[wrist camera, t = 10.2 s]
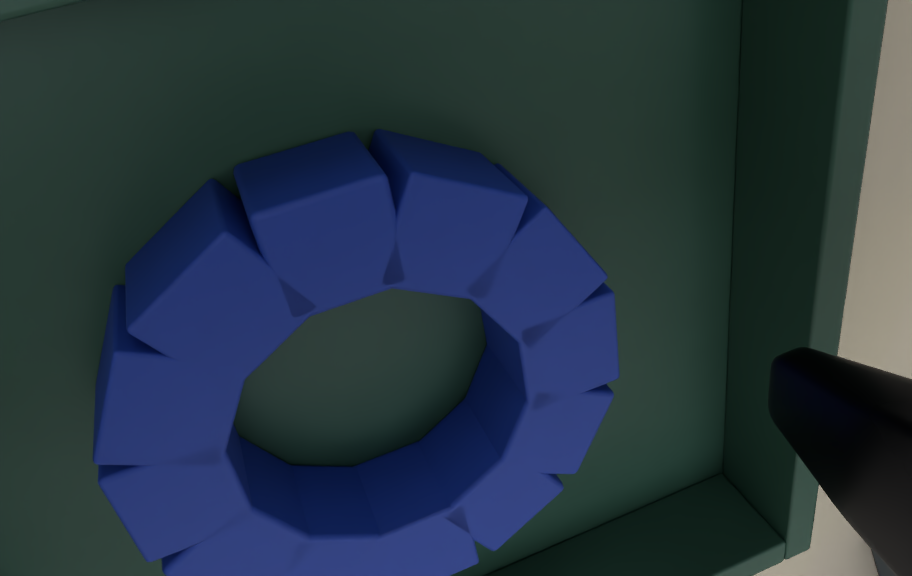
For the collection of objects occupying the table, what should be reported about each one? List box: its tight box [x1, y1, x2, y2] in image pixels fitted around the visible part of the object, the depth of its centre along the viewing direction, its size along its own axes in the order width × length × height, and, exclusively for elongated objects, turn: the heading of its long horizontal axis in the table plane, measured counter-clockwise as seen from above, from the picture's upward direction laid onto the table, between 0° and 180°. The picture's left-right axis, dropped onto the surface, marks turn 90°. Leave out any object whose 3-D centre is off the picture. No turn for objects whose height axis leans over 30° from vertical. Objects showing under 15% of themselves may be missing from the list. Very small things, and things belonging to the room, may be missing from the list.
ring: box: [93, 129, 620, 576], centre depth 11 cm, size 7×7×2 cm
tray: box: [0, 0, 888, 576], centre depth 11 cm, size 14×13×2 cm
